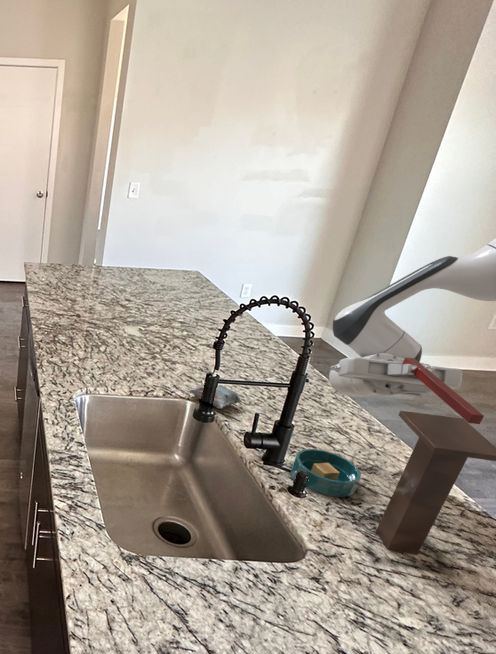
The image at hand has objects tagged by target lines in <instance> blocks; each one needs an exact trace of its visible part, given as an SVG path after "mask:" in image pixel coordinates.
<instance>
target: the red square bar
mask: <svg viewBox="0 0 496 654" xmlns="http://www.w3.org/2000/svg"><path fill="white" fill-rule="evenodd" d="M420 363H421V362H420ZM420 363H419V362H418V361H417V360H416V359H414V358H407V357H405V359H404V361H403V364H412V365H417V369H416V370H417V371H416V374H413V375H414V376H416V377H417V378H418V379H419V380H420V381H421V382H422V383H424V384H425V385H426V386H427V387H428V388H429V389H430V390H432V392H433V393H434V394H435V395H436V396H437V397H438V398H439V399H441V400H442V401H443V402H444V403H445V404H446V405H447V406H449V407H450V408H451V409H452V410H453V411H454V412H455V413H457V414H458V415H459V416H460V418H462V419H464V420H465V421H466V422H468V423H469V424H474V425H481V423H482V421H483V419H484V417H485V415H484V414H483V413H482V412H480V411H479V410H478V409H477V408H475V407H474V406H473V405H472V404H470V403H469V402H468V401H467V400H466V399H464V398H463V397H462V396H461V395H460V394H458V393H457V392H456V391H455V390H454V389H451V388H450V387H448V386H447V385H446V384H445V383H444V382H442V381H441V380H440V379H439V378H437V377H436V376H435V375H434V374H433V373H431V372H430V371H429V370H428V369H427V368H425V367H424V366H423V365H422V364H420Z"/></svg>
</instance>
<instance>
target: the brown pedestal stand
mask: <svg viewBox="0 0 496 654" xmlns="http://www.w3.org/2000/svg"><path fill="white" fill-rule="evenodd" d="M398 417H400V419H401V420H402V421H403V422H404V423H405V424H406V425H407V426H408V427H409V429H410V430H411V431H412V432H414V434H415V435H416V436H417V437H418V439H417V441H416V443H415V446H414V448H413V450H412V452H411V454H410V456H409V458H408V460H407V462H406V465H405V466H404V469H403V471H402V474H401V476H400V478H399V480H398V482H397V484H396V486H395V488H394V490H393V493H392V495H391V498H390V500H389V502H388V504H387V506H386V508H385V510H384V513H383V515H382V517H381V519H380V521H379V523H378V526H377V528H376V530H375V532H376V534H377V536H378V537H379V539H380V540H381V542H382V544H383V545H384V547H385V549H386V550H387V551H391V552H397V553H405V554H410V555H416V556H418V554H419V552H420V551H421V549H422V547H423V544H424V543H425V541H426V539H427V537H428V535H429V534H430V531H431V529H432V528H433V525H434V523H435V522H436V519H437V518H438V516H439V514H440V512H441V510H442V508H443V507H444V504H445V503H446V500H447V498H448V497H449V495H450V493H451V491H452V489H453V487H454V485H455V483H456V481H457V479H458V478H459V476H460V474H461V471H462V470H463V468H464V466H465V464H466V462H467V461H468V458H470V459H478V460H485V461H492V462H496V446H495V445H494V444H493V443H492V442H491V441H489V440H488V439H487V438H486V437H485V436H483V435H482V434H481V432H479V431H478V430H476V428H475V427H473V426H472V425H471V423H468V422H467V421H466V420H465V419H464V418H462V417H455V416H446V415H438V414H429V413H422V412H414V411H406V410H400V411H399V413H398Z"/></svg>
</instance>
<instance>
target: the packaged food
mask: <svg viewBox="0 0 496 654" xmlns="http://www.w3.org/2000/svg"><path fill="white" fill-rule="evenodd" d="M203 388H204V383H201V384H200V385H197V386H195V388H189V389H186V392H189V393H190V394H192V395H193V397H195V398H197V399H199V400H201V396H202V392H203ZM241 402H243V401H242V399H241V397H240V396H239V395H238V394H237V392H235V391H234V390H232V389H230V388H228V387H226V386H223V385H221V384H220V385H219V386H218V387H217V390H216V394H215V399H214V403H213V405H212V407H215V408H217V409H221V410H222V409H223V408H225V407H227V406H230V405H234V404H235V405H237V404H239V403H241Z"/></svg>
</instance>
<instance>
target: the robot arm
mask: <svg viewBox="0 0 496 654" xmlns="http://www.w3.org/2000/svg"><path fill="white" fill-rule="evenodd" d="M431 289H438V290H439V289H440V290H444V291H449V292H452V293H455V294H458V295H460V296H464V297H466V298H470V299H474V300H478V301H482V302H496V237H495V238H494V239H492V240H491V241H490V242H488V243H487V244H486V245H485V246H483V247H481V248H480V249H478V250H476V251H474V252H472V253H469V254H466V255H463V256H459V257H457V256H453V255H447V256H444V257H440V258H438V259H436V260H434V261H430V262H429V263H427V264H426V265H423V266H421V267H419V268H418V269H416V270H413V271H412V272H410V273H409V274H407V275H405V276H404V277H402V278H400V279H398V280H396V281H394V282H392V283H391V284H389V285H387V286H386V287H384V288H382V289H380V290H378V291H377V292H374V293H372V295H370V296H367V297H365V298H364V299H361V300H359V301H358V302H355V303H352V304H351V305H348V306H346V307H344V308H343V309H341V310H340V311H339V312H338V314H337V315H336V316H335V317H334V318H333V319H332V334H333V336H334V337H335V338H336V339H337V340H338V341H340V342H342V343H343V344H344V345H345V346H348V347H349V348H350V349H352V351H354V352H355V353H356V354H357V355H358V356H360V357H357V356H349V357H348V356H347V357H345V358H342V359H340V360H339V361H338V363H337V364H335V365H331V366H330V371H329V373H328V376H329V377H328V379H329V383H330V385H331V387H332V388H333V389H334V390H335V391H336V392H338V393H339V394H341V395H343V396H346V397H347V396H348V397H355V398H357V397H359V398H360V397H361V398H363V397H381V396H382V397H384V396H396V395H397V396H398V395H413V396H425V395H428V394H429V392H430V393H431V392H433V391H432V390H430V389H429V388H428V387H427V386H426V385H425V384H424V383H422V382H421V381H420V380H419V379H418V378H417V377H416V376H414V375H413V374H416V371H417V370H416V369H417V365H412V364H403V361H404V359H405V357H407V358H414V359H416V360H417V361H418V362H419V363H420V364H422V365H423V366H424V367H425V368H427V369H428V370H429V371H430V372H431V373H433V374H434V375H435V376H436V377H437V378H439V379H440V380H441V381H442V382H444V383H445V384H446V385H447V386H448V387H450V388H451V389H452V390H455V389H459V388H461V386H462V383H463V371H462V370H461V369H460V368H457V367H455V368H454V367H446V366H438V365H437V366H435V365H431V364H428V363H424V362H421V360H422V355H423V354H422V353H423V348H422V344H420V343H419V342H418V341H417V340H416V339H415V338H414V337H413V336H412V335H410V334H409V333H408V332H407V331H406V330H404V329H403V328H401V327H400V326H399V325H398V324H396V323H395V322H394V321H393V320H392V319H391V318H389V317H388V316H387V315H386V313H385V312H386V311H387V310H389V309H390V308H393V307H395V306H396V305H398V304H400V303H402V302H404V301H406V300H407V299H409V298H411V297H413V296H415V295H416V294H418V293H421V292H422V291H426V290H431Z"/></svg>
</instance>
